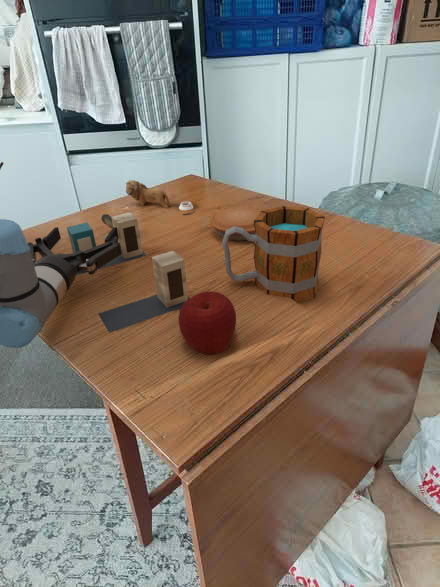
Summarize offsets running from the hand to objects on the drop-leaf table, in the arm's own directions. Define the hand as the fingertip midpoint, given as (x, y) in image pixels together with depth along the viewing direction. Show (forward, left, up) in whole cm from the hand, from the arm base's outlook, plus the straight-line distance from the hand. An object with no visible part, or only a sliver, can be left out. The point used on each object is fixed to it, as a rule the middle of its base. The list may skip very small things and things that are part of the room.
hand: (86, 232), depth 97 cm
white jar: (-15, +32, -8) cm, 36 cm away
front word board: (+27, +3, -8) cm, 28 cm away
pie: (+5, +38, -8) cm, 39 cm away
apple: (+42, +9, -8) cm, 43 cm away
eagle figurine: (-9, +9, -8) cm, 15 cm away
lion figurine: (-23, +24, -8) cm, 34 cm away
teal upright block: (+3, -2, -6) cm, 7 cm away
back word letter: (+3, +8, -6) cm, 11 cm away
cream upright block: (+27, +9, -6) cm, 29 cm away
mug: (+32, +29, -8) cm, 44 cm away
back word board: (+3, +3, -8) cm, 9 cm away
